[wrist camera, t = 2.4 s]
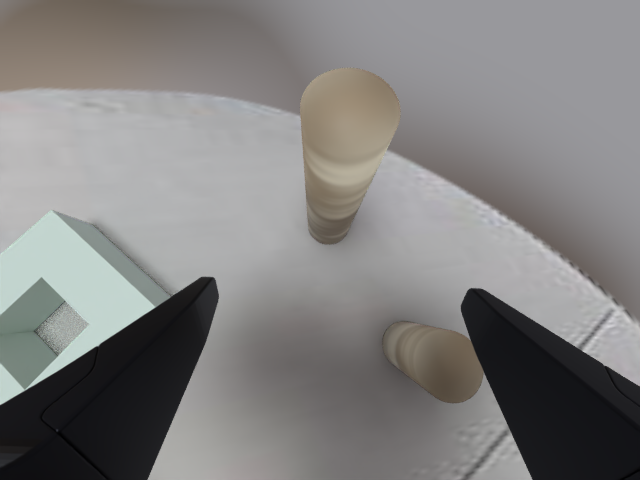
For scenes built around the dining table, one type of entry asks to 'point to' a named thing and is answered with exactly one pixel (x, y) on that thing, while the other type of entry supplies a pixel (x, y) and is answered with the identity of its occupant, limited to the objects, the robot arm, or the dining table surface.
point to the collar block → (64, 296)
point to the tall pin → (343, 145)
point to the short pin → (434, 359)
